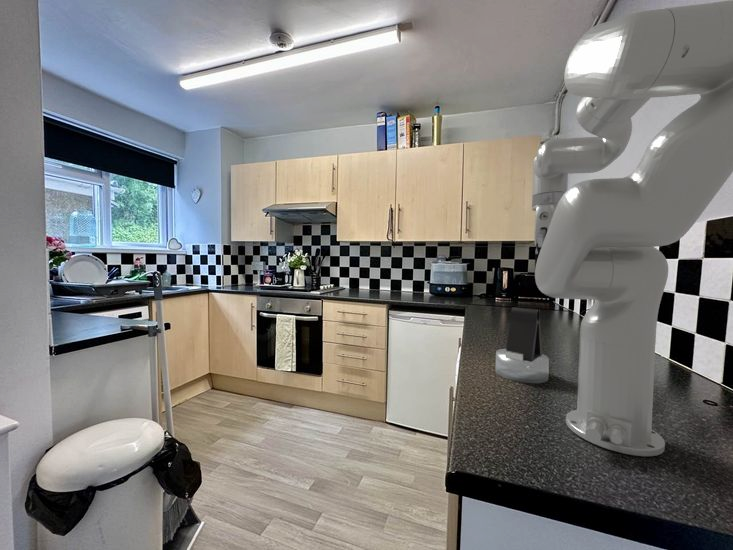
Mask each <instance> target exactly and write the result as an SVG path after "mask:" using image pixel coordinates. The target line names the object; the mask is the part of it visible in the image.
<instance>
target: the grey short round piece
mask: <svg viewBox="0 0 733 550" xmlns="http://www.w3.org/2000/svg"><path fill="white" fill-rule="evenodd" d="M549 365H550V357H548V356H547V355H546V354H543V353H542V355H541V356H539V357H538V358H536V359H535V360H534V361H532V362H531V361H526V360H524V354H522V353H517V352H512V351H506V348H500V349H497V350H496V351H495V373H496V374H497V375H498V376H500V377H502V378H504V379H507V380H510V381H512V382H518V383H523V384H543V383H546V382H548V381H549V369H550V368H549Z"/></svg>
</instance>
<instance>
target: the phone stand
mask: <svg viewBox="0 0 733 550" xmlns="http://www.w3.org/2000/svg"><path fill="white" fill-rule="evenodd" d="M541 332H542V331H541V310H540V309H538V308H528V307H527V308H525V307H519V306H514V307H512V308H511V311H510V323H509V329H508V335H507V343H506V348H505V349H506V351H512V352H517V353H522V354H524V360H526V361H531V362H532V361H534V360H535V359H536V358H538V357H539V356H541V355H542V354H543V344H542V333H541Z"/></svg>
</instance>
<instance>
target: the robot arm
mask: <svg viewBox="0 0 733 550" xmlns="http://www.w3.org/2000/svg"><path fill="white" fill-rule="evenodd" d="M563 76H564V78H563V81H564V86H565V88H566V90H567V91H568V93H570V94H571V95H574V96H577V97H582V98H581V99H580V100H579V102H578V104H577V106H576V107H577V108H576V110H575V111H576V112H575V116H576V120H577V123H578V124H579V126H580V127H581V128H582V129H583V130H585V131H586V132H588V133H590V134H591V135H594V136H585V137H584V136H583V137H570V138H569V137H568V138H567V137H566V138H556V139H555V138H554V139H549V140H547V141H545V142H543V144H542V145H541V146H540V147H539V149H538V150H537V153H536V156H535V157H534V158H533V164H532V165H533V166H532V167H533V168H532V197H531V199H532V200H531V210H532V211H533V212H535V215H534V216H535V217H534V231H533V232H534V233H533V235H534V237H533V238H534V246H535V247H536V248H535V254H534V255H535V256H534V279H535V284H536V286H537V288H538V290H539V291H540V292H541V293H542V294H544V295H545V296H547V297H550V298H554V299H565V300H589V301H590V300H593V301H594V303H593V304H592V305H591V307H590V308H589V309H588V310H587V311H586V313H585V314H584V316H583V317H582V319H581V322H580V327H579V347H578V349H579V350H578V355H579V356H578V371H577V373H578V377H577V378H578V379H577V402H576V403H577V404H576V405H577V407H576V409H574V410H571V411H569V412H567V414H565V423H566V426H567V427H568V428H569V429H570V430H571V431H572V432H573V433H574V434H576V435H577V436H578V437H580V438H582V439H583V440H585V441H587V442H589V443H591V444H593V445H595V446H598V447H600V448H603V449H606V450H610V451H613V452H616V453H620V454H624V455H630V456H637V457H655V456H659V455H662V454H663V453H664V452H665V449H666V448H665V447H666V442H665V439H664V438H663V436H661V435H660V434H659V433H658V432H657V431H655V430H654V429H652V427H653V425H652V424H653V423H652V422H653V402H654V385H655V384H654V379H655V378H654V377H655V358H656V356H655V355H656V341H657V340H656V339H657V338H656V337H657V325H658V324H657V323H658V315H659V309H660V304H661V301H662V297H663V294H664V291H665V288H666V284H667V281H668V278H669V277H668V276H669V263H668V260H667V258H666V257H665V255H664V254H663V252H662V251H660V250H659V249H658V248H657V247H663V246H664V247H665V246H668V245H671V244H673V243H676V242H678V241H679V240H680V239H682V238H683V237H684V236H685V235H686V234H687V233H689V231H690V229H691V228H692V227H693V226H694V225H695V224H696V222H697V221H698V219H699V218H700V217H701V215H702V214H703V213H704V211H705V210H706V209H707V207H708V206H709V205H710V203H711V202H712V200H713V199H714V198H715V196H716V195H717V194H718V193H719V192H720V189H722V187H723V186H724V185H725V183H726V182H727V181H728V180H729V178H730V177H731V175H732V174H733V0H721V1H715V2H708V3H699V4H689V5H682V6H673V7H663V8H658V9H648V10H642V11H638V12H633V13H630V14H627V15H624V16H620V17H617V18H614V19H611V20H609V21H605V22H602V23H599V24H596V25H594V26H593V27H591V28H589V29H588V30H587V31H586V32H584V34H583V35H582V36H581V37H580V38H579V40H578V41H577V42H576V43H575V46H574V47H573V49H571V52H570V54H569V56H568V59H567V61H566V65H565V69H564V75H563ZM687 95H689V96H690V95H691V96H692V95H700V98H699V100H698V101H697V102H695V103H694V104H692V105H691V106H689V107H688V108H686V109H685V110H683V111H682V112H681V113H679V114H678V115H677V116H676V117H674V118H673V119H672V120H671V121H670V122H669V123H667V125H665V126H664V127H663V128H662V129H661V130H660V131H659V132H658V133H657V134H656V135H655V136H654V137H653V138H652V139H651V140H650V141H649V144H648V146H646V149H645V151H644V153H643V155H642V157H641V159H640V161H639V162H638V164H637V166H636V168H635V169H634V170H633V172H632V173H631V174H629V175H627V176H625V177H618V178H616V177H614V178H612V177H610V178H593V179H587V180H583V181H580V182H579V181H578V182H577V183H574V184H573V185H572V186H571V187H569V188H568V184H569V183H568V182H569V176H568V175H570V174H571V175H572V174H593V173H598V172H600V171H602V170H603V169H605V168H607V167H609V165H611V164H612V163H613V162H614V161H615V160H617V159H618V158H619V157H620V156H621V155H622V154H623V153H624V152H625V150H626V149H627V146H628V144H629V142H630V140H631V136H632V132H633V131H632V130H633V122H632V118H633V116H635V115H636V113H637V112H638V111H640V109H641V108H642V107H644V105H645V104H647V102H648V101H650V99H653V98H664V97H665V98H667V97H677V96H687Z"/></svg>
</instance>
